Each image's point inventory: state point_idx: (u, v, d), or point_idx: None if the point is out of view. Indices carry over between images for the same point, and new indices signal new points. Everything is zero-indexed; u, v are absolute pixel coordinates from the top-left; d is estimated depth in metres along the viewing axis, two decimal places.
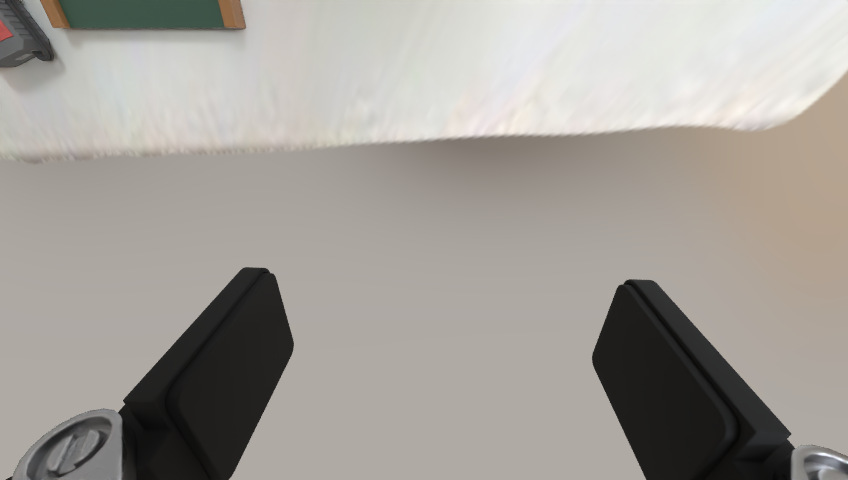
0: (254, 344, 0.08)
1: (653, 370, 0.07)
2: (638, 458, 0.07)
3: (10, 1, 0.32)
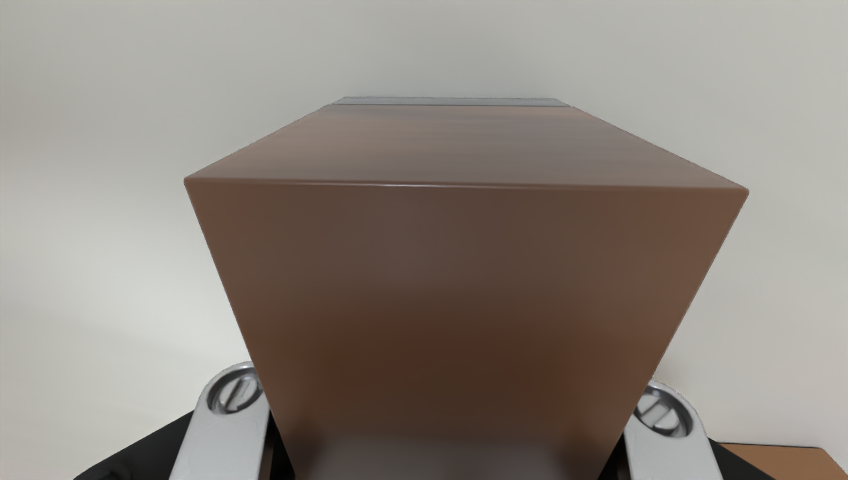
0: None
1: None
2: None
3: None
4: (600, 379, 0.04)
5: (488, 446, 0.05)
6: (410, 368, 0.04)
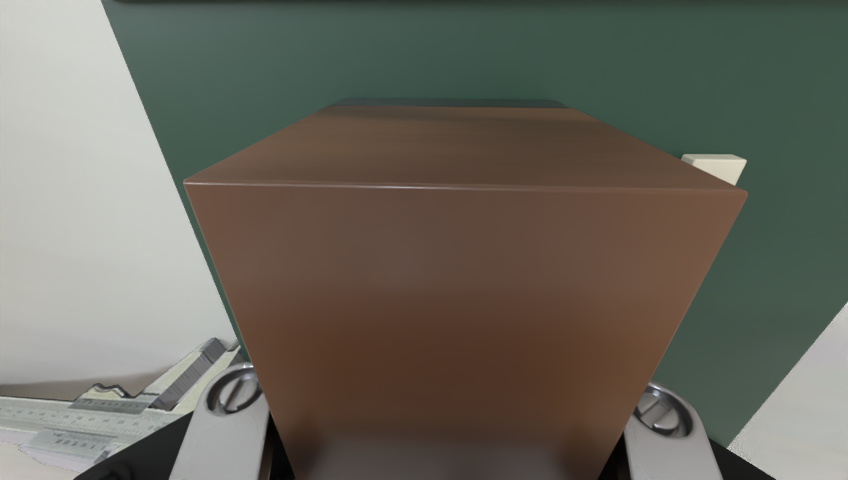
0: None
1: None
2: None
3: None
4: (599, 381, 0.04)
5: (487, 448, 0.05)
6: (410, 370, 0.04)
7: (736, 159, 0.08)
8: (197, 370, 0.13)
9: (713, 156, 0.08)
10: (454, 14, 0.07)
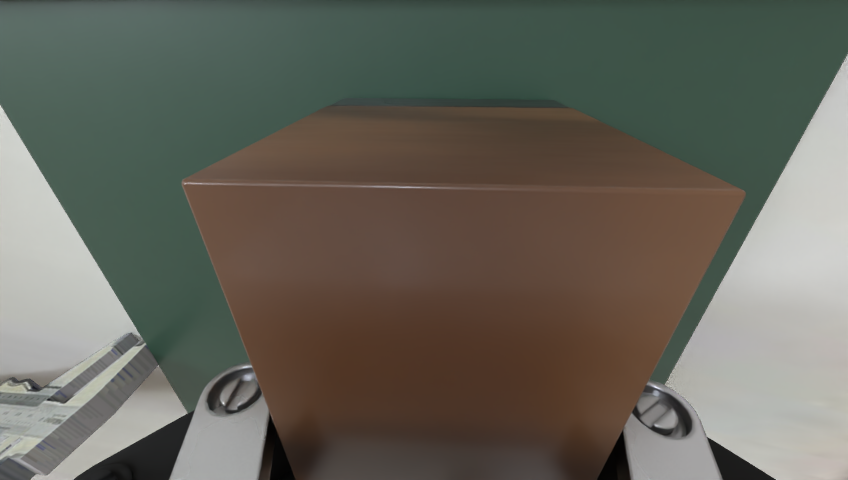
0: None
1: None
2: None
3: None
4: (598, 380, 0.04)
5: (487, 447, 0.05)
6: (409, 370, 0.04)
7: None
8: (107, 364, 0.14)
9: None
10: (273, 10, 0.07)
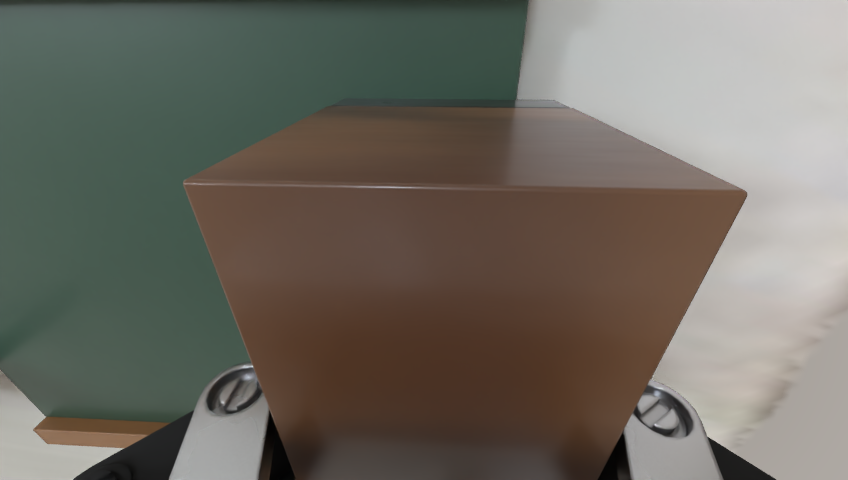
0: None
1: None
2: None
3: None
4: (599, 381, 0.04)
5: (487, 448, 0.05)
6: (410, 371, 0.04)
7: None
8: None
9: None
10: None
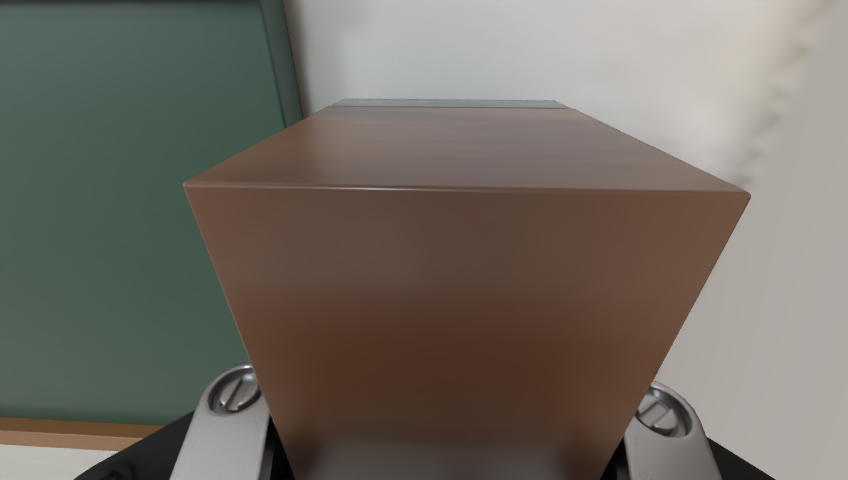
0: None
1: None
2: None
3: None
4: (601, 383, 0.04)
5: (488, 450, 0.05)
6: (411, 372, 0.04)
7: None
8: None
9: None
10: None
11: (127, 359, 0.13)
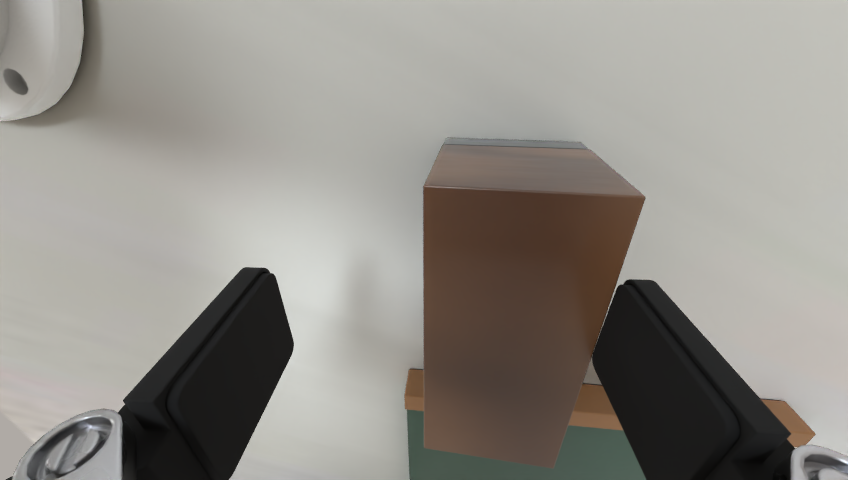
0: (254, 344, 0.08)
1: (653, 370, 0.07)
2: (638, 458, 0.07)
3: None
4: (590, 285, 0.09)
5: (533, 327, 0.10)
6: (499, 276, 0.09)
7: None
8: None
9: None
10: None
11: None
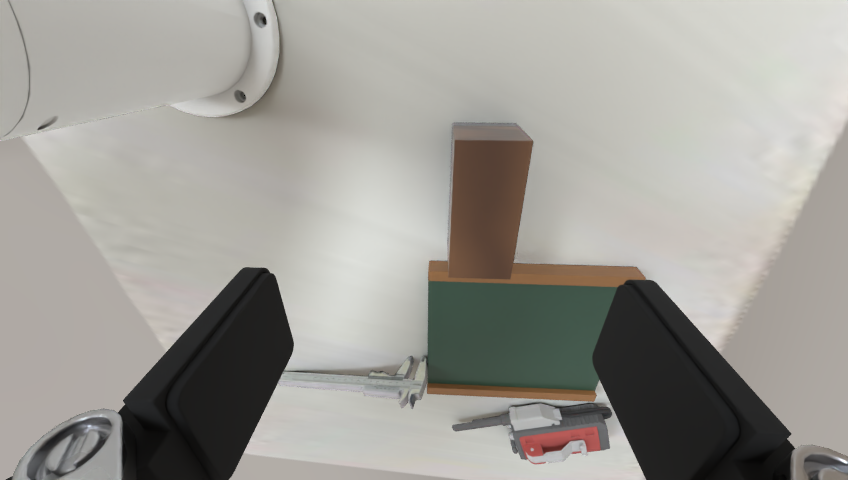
0: (254, 344, 0.08)
1: (653, 370, 0.07)
2: (638, 458, 0.07)
3: (569, 414, 0.42)
4: (518, 178, 0.22)
5: (497, 200, 0.23)
6: (483, 177, 0.22)
7: None
8: (410, 367, 0.39)
9: None
10: (507, 283, 0.32)
11: (531, 362, 0.38)
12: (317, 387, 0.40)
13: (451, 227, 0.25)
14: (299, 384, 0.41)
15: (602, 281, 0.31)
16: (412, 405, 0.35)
